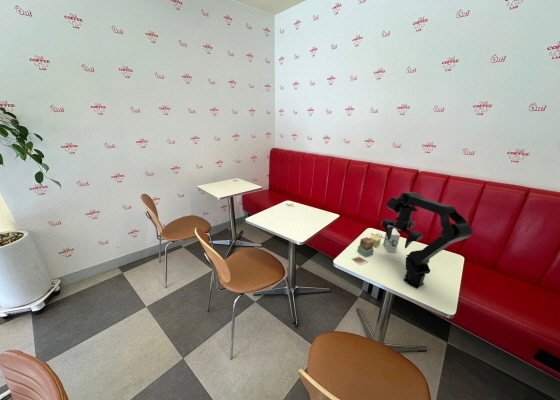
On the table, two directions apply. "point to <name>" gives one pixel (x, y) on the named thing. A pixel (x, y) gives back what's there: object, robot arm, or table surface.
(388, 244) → the ink box
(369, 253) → the base block
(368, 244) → the walnut cube
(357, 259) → the swatch
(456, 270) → the table surface
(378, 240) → the ochre cube
